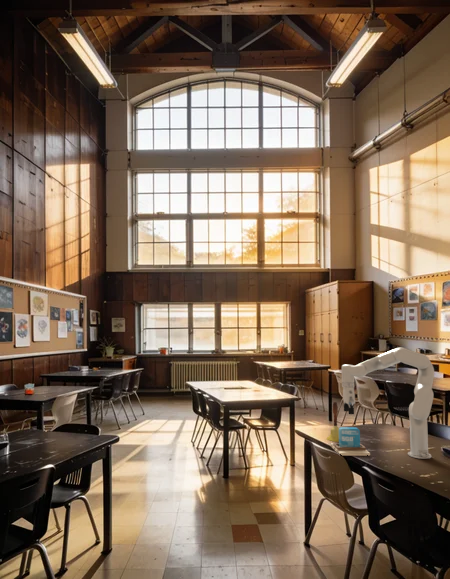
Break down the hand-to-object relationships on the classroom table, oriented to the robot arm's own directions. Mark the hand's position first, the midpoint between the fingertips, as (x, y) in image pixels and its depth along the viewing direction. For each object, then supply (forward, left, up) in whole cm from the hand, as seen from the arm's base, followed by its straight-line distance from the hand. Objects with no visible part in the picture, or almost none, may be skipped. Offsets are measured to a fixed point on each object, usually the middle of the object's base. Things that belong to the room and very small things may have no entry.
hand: (348, 412), depth 271 cm
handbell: (+27, +1, -23) cm, 36 cm away
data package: (0, 0, -22) cm, 22 cm away
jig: (0, 0, -23) cm, 23 cm away
